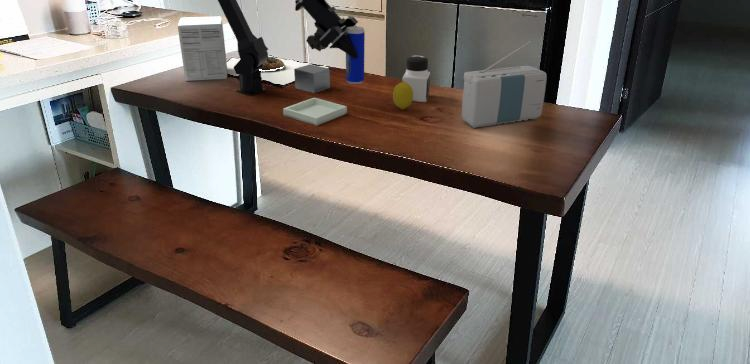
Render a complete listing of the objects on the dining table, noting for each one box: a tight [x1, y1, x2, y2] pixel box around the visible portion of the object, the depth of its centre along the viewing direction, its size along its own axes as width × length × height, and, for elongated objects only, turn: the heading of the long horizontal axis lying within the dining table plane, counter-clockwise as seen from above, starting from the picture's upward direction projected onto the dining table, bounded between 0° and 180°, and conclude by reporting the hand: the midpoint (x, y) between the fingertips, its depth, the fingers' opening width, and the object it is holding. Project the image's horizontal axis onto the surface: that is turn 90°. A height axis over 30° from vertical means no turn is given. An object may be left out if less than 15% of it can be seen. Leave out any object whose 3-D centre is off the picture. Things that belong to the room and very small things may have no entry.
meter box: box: [293, 63, 331, 94], centre depth 172 cm, size 8×7×6 cm
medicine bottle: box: [402, 55, 431, 103], centre depth 162 cm, size 7×7×12 cm
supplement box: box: [177, 15, 228, 82], centre depth 181 cm, size 13×13×18 cm
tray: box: [282, 97, 348, 127], centre depth 151 cm, size 12×12×2 cm
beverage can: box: [345, 25, 366, 85], centre depth 156 cm, size 5×5×15 cm
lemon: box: [392, 80, 413, 110], centre depth 154 cm, size 6×6×8 cm
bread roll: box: [261, 56, 286, 70], centre depth 192 cm, size 11×11×5 cm
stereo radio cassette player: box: [461, 40, 547, 129], centre depth 144 cm, size 21×8×20 cm, turn 112°
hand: (359, 55), depth 156 cm, fingers closed on beverage can, 5 cm apart
